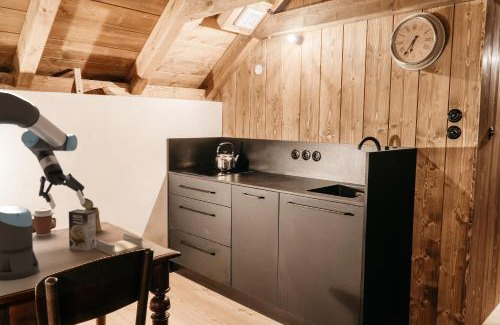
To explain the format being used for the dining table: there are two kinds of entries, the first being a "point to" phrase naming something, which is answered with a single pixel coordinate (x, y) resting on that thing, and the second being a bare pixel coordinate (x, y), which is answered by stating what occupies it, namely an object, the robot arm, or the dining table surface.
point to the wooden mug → (89, 206)
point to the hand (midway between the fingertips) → (69, 205)
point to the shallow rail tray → (120, 245)
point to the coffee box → (82, 229)
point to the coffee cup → (43, 221)
